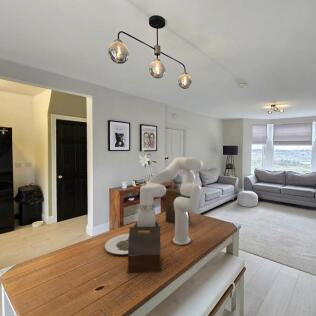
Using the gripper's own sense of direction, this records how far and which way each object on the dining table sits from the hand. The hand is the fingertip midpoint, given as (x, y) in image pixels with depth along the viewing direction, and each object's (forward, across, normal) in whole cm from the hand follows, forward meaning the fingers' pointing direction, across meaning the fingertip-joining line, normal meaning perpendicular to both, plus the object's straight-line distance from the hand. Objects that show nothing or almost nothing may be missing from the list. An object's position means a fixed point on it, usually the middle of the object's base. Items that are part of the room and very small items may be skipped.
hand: (146, 237), depth 113 cm
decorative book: (+14, -20, -60) cm, 64 cm away
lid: (-2, 0, +8) cm, 8 cm away
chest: (+14, 0, +3) cm, 14 cm away
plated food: (+14, +14, -21) cm, 28 cm away
